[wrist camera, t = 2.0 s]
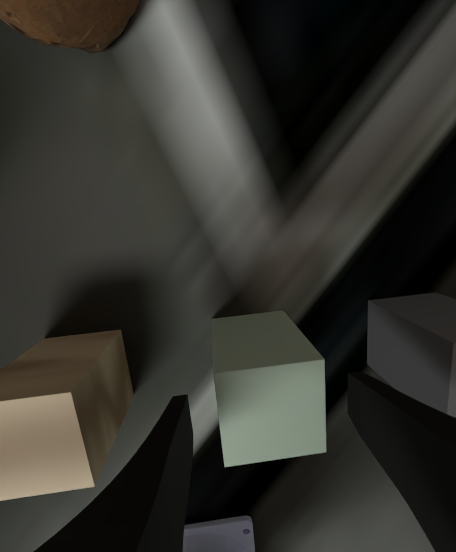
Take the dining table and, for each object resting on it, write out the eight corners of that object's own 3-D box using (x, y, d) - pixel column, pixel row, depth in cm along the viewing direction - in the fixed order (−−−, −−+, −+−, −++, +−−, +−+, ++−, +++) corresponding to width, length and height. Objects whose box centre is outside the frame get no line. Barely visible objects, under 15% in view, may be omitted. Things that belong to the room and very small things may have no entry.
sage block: (286, 374, 17) (326, 452, 12) (218, 383, 17) (224, 467, 11) (283, 310, 16) (324, 359, 11) (211, 318, 16) (213, 373, 10)
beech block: (133, 394, 17) (94, 486, 11) (62, 403, 17) (-17, 503, 11) (121, 329, 16) (70, 392, 10) (44, 338, 16) (-53, 408, 10)
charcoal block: (430, 355, 18) (537, 420, 12) (366, 364, 18) (445, 434, 12) (435, 292, 17) (554, 330, 11) (367, 300, 17) (453, 342, 11)
